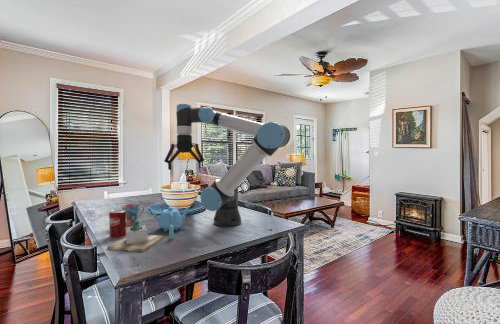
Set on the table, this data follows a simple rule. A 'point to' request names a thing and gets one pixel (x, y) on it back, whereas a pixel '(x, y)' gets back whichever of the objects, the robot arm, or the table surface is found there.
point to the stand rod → (171, 232)
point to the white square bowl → (136, 235)
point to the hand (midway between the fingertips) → (184, 175)
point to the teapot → (170, 218)
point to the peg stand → (135, 246)
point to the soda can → (117, 223)
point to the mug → (132, 213)
